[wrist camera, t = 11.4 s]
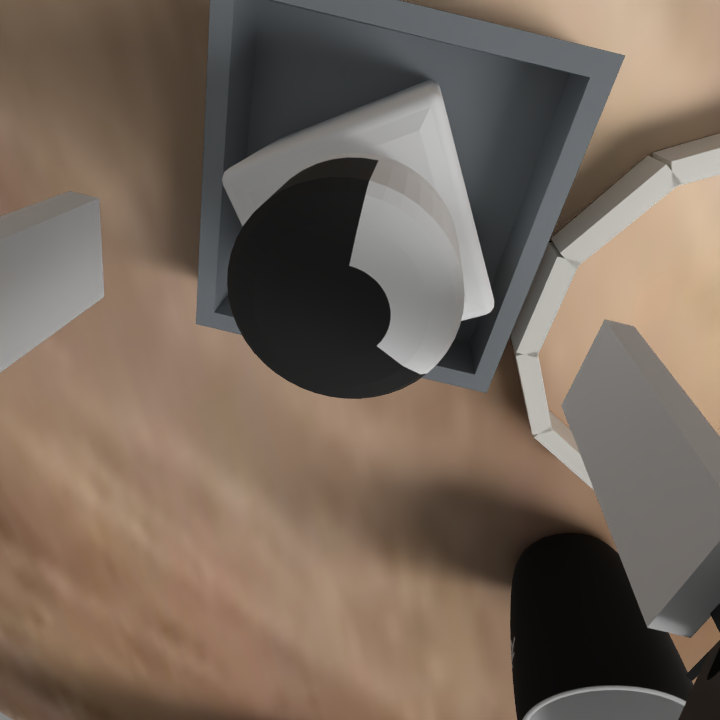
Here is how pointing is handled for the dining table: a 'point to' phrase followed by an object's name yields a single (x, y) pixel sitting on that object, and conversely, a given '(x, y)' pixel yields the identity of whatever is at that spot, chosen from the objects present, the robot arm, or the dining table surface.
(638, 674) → the mug
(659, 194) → the ring holder
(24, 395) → the dining table surface
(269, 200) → the medicine bottle
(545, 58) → the tray
